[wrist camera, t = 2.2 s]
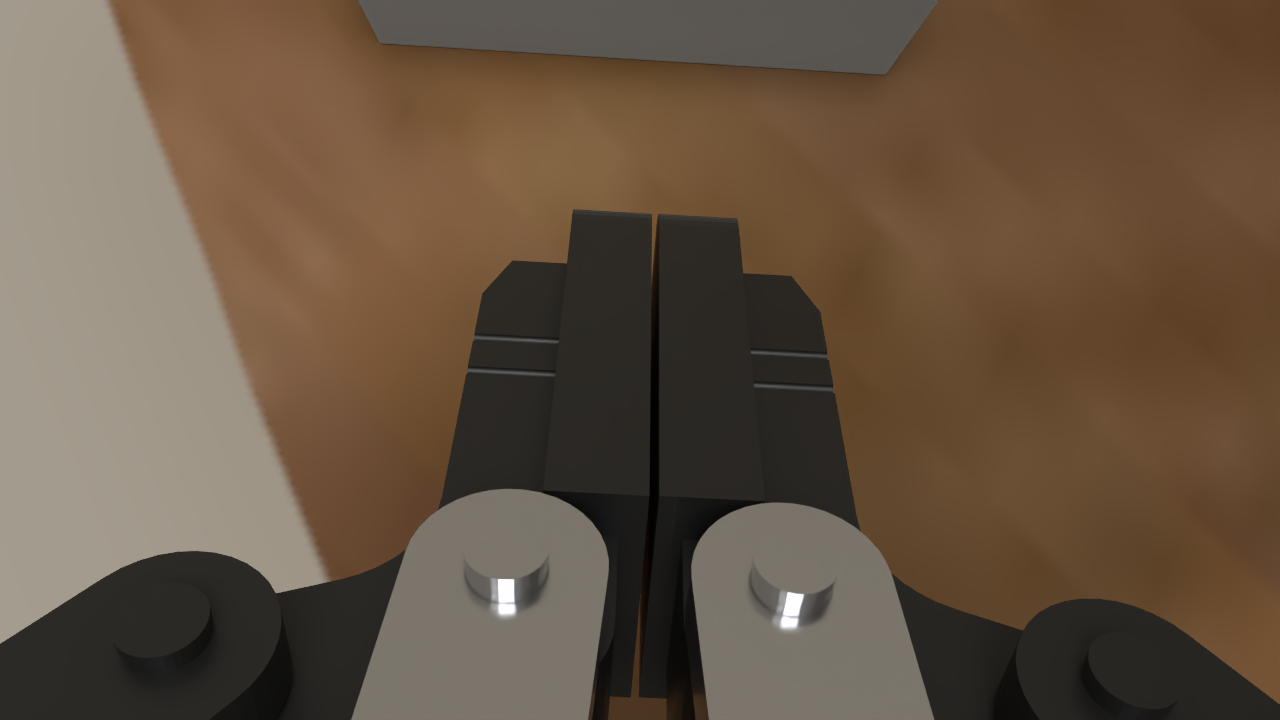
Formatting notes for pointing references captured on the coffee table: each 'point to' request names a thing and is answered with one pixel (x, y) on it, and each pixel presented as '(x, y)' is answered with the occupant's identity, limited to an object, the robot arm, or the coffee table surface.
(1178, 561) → the coffee table surface
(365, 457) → the coffee table surface
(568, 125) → the coffee table surface
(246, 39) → the coffee table surface
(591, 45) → the platform
